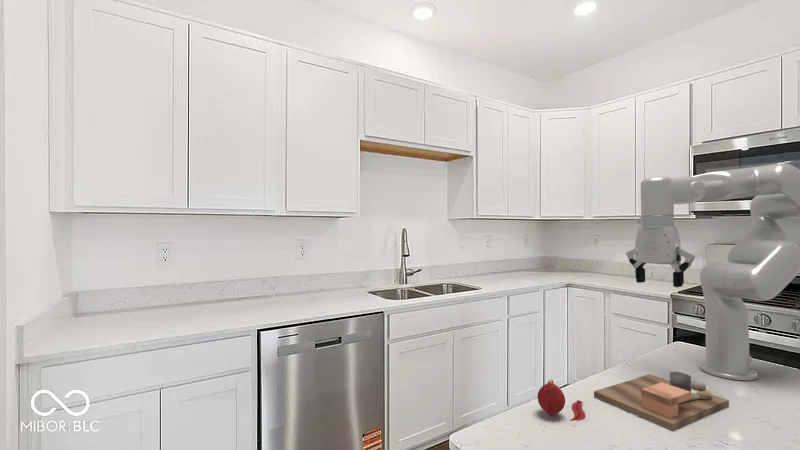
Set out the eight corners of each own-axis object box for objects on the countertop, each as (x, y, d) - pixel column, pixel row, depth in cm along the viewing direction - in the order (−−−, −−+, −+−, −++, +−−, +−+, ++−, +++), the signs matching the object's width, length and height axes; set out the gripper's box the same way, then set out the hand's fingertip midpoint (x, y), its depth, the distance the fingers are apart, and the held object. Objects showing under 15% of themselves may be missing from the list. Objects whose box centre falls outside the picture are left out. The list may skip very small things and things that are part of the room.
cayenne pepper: (578, 426, 82) (578, 417, 82) (557, 418, 85) (556, 410, 85) (598, 407, 90) (598, 399, 90) (578, 401, 94) (578, 393, 94)
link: (695, 388, 95) (694, 366, 95) (717, 397, 90) (716, 373, 90) (651, 397, 90) (651, 374, 90) (672, 407, 85) (672, 382, 86)
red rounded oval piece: (568, 423, 83) (567, 385, 83) (540, 420, 84) (539, 384, 84) (562, 410, 88) (561, 375, 88) (536, 408, 90) (535, 374, 90)
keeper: (662, 399, 90) (661, 382, 90) (691, 409, 85) (690, 391, 85) (641, 406, 86) (641, 389, 86) (670, 418, 81) (669, 399, 81)
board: (649, 379, 105) (649, 363, 105) (729, 406, 89) (728, 386, 89) (594, 397, 95) (593, 378, 95) (672, 431, 79) (672, 408, 79)
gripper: (618, 223, 111) (619, 281, 111) (684, 221, 96) (686, 289, 96) (634, 222, 115) (635, 279, 115) (700, 221, 99) (702, 287, 99)
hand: (658, 284), depth 105 cm, fingers open, 9 cm apart
